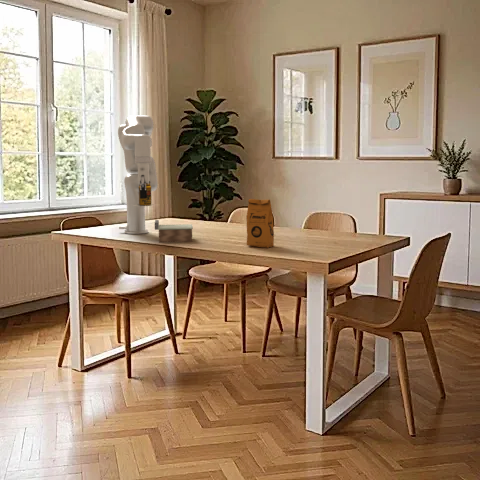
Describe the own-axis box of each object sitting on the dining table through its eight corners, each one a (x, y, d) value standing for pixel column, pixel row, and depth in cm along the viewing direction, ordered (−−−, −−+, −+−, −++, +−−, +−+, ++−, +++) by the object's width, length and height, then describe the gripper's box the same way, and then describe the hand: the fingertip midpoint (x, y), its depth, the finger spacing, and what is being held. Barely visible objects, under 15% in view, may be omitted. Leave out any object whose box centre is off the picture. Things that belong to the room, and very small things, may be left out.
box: (158, 242, 302) (158, 230, 301) (159, 238, 314) (159, 227, 313) (192, 241, 303) (192, 229, 302) (191, 238, 315) (191, 226, 314)
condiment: (148, 206, 300) (148, 181, 299) (132, 205, 303) (132, 180, 301) (154, 204, 307) (154, 180, 306) (138, 204, 310) (138, 180, 308)
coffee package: (267, 249, 281) (268, 200, 278) (243, 247, 287) (243, 199, 284) (277, 246, 290) (277, 198, 287) (253, 244, 296) (253, 197, 293)
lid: (154, 229, 300) (154, 223, 300) (155, 226, 313) (155, 220, 312) (192, 229, 302) (192, 222, 302) (192, 225, 314) (191, 219, 314)
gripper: (150, 161, 293) (150, 199, 296) (151, 160, 310) (152, 196, 313) (133, 161, 292) (134, 199, 295) (136, 160, 309) (137, 196, 312)
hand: (143, 197), depth 304 cm, fingers closed on condiment, 6 cm apart
